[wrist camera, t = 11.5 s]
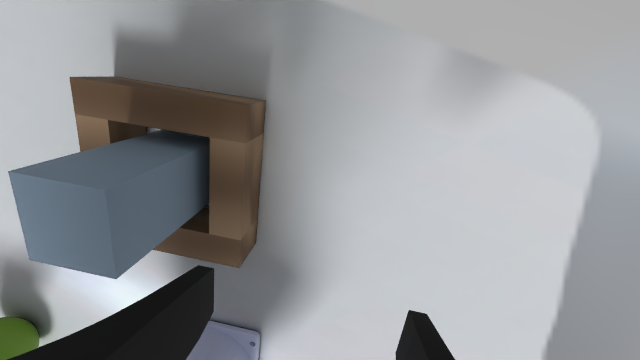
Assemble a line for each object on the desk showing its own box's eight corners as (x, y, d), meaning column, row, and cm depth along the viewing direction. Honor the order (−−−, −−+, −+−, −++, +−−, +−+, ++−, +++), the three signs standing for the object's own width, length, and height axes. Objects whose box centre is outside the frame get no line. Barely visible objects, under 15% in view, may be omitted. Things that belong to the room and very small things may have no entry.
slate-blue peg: (217, 196, 21) (116, 279, 12) (163, 186, 21) (29, 259, 13) (218, 140, 19) (104, 190, 11) (160, 130, 20) (8, 171, 11)
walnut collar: (255, 242, 22) (239, 267, 19) (127, 216, 22) (93, 236, 20) (265, 100, 18) (247, 105, 15) (113, 76, 19) (69, 77, 16)
